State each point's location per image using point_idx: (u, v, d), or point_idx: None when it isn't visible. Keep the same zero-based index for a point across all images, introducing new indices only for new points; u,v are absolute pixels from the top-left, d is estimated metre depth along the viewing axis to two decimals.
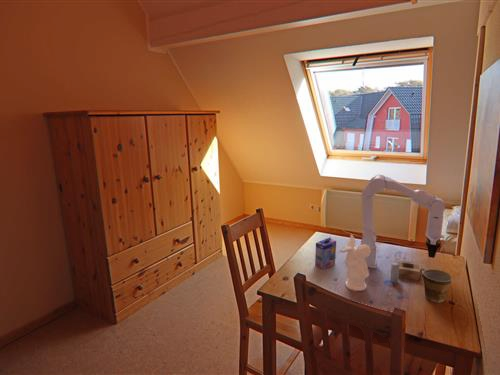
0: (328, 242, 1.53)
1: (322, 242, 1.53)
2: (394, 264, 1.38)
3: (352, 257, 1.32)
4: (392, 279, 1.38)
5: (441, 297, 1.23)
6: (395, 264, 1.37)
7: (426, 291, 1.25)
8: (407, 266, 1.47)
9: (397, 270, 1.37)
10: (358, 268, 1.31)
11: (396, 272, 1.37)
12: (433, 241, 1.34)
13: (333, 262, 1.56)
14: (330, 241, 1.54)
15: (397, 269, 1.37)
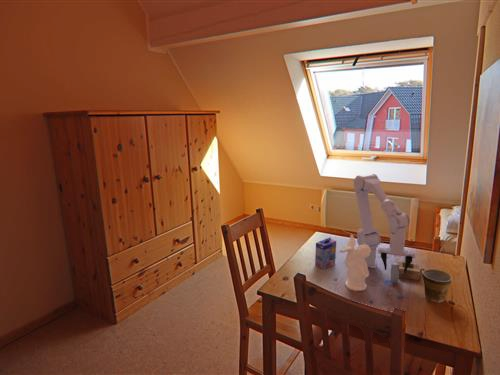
0: (328, 242, 1.53)
1: (322, 242, 1.53)
2: (394, 264, 1.38)
3: (352, 257, 1.32)
4: (392, 279, 1.38)
5: (441, 297, 1.23)
6: (395, 264, 1.37)
7: (426, 291, 1.25)
8: None
9: (397, 270, 1.37)
10: (358, 268, 1.31)
11: (396, 272, 1.37)
12: (378, 249, 1.39)
13: (333, 262, 1.56)
14: (330, 241, 1.54)
15: (397, 269, 1.37)
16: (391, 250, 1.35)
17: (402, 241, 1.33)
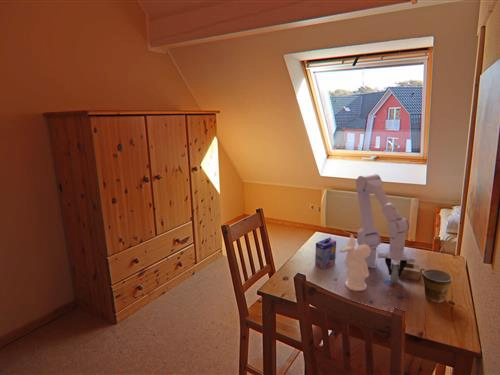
0: (328, 242, 1.53)
1: (322, 242, 1.53)
2: (394, 264, 1.38)
3: (352, 257, 1.32)
4: (392, 279, 1.38)
5: (441, 297, 1.23)
6: (395, 264, 1.37)
7: (426, 291, 1.25)
8: (407, 266, 1.47)
9: (397, 270, 1.37)
10: (358, 268, 1.31)
11: (396, 272, 1.37)
12: (378, 254, 1.40)
13: (333, 262, 1.56)
14: (330, 241, 1.54)
15: (397, 269, 1.37)
16: (391, 255, 1.36)
17: (402, 246, 1.33)
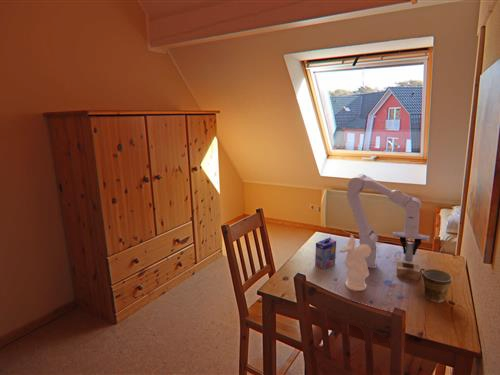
0: (328, 242, 1.53)
1: (322, 242, 1.53)
2: (408, 243, 1.42)
3: (352, 256, 1.32)
4: (406, 258, 1.43)
5: (441, 297, 1.23)
6: (409, 243, 1.41)
7: (426, 291, 1.25)
8: (407, 266, 1.47)
9: (411, 249, 1.41)
10: (358, 268, 1.31)
11: (410, 251, 1.41)
12: None
13: (333, 262, 1.56)
14: (330, 241, 1.54)
15: (411, 248, 1.41)
16: (405, 233, 1.40)
17: (418, 224, 1.38)
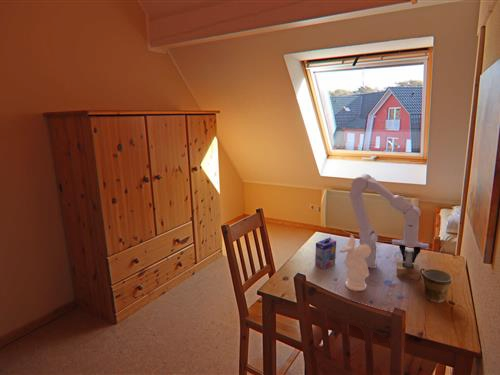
0: (328, 242, 1.53)
1: (322, 242, 1.53)
2: (408, 251, 1.43)
3: (352, 257, 1.32)
4: (406, 265, 1.43)
5: (441, 297, 1.23)
6: (408, 251, 1.42)
7: (426, 291, 1.25)
8: None
9: (411, 257, 1.42)
10: (358, 268, 1.31)
11: (410, 259, 1.42)
12: (392, 241, 1.45)
13: (333, 262, 1.56)
14: (330, 241, 1.54)
15: (411, 256, 1.42)
16: (405, 241, 1.41)
17: None
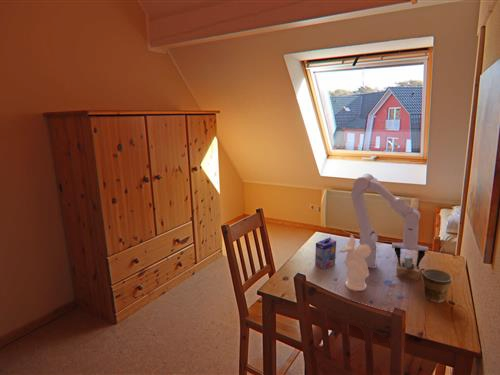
0: (328, 242, 1.53)
1: (322, 242, 1.53)
2: (407, 257, 1.43)
3: (352, 256, 1.32)
4: None
5: (441, 297, 1.23)
6: (408, 258, 1.43)
7: (426, 291, 1.25)
8: None
9: (410, 263, 1.42)
10: (358, 268, 1.31)
11: (409, 265, 1.43)
12: (392, 244, 1.45)
13: (333, 262, 1.56)
14: (330, 241, 1.54)
15: (410, 262, 1.42)
16: (405, 245, 1.41)
17: (417, 235, 1.39)
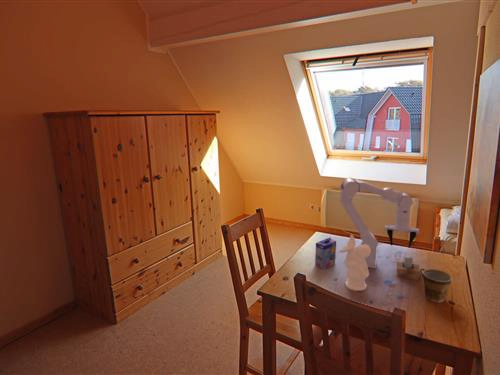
0: (328, 242, 1.53)
1: (322, 242, 1.53)
2: (407, 257, 1.43)
3: (352, 256, 1.32)
4: None
5: (441, 297, 1.23)
6: (408, 258, 1.43)
7: (426, 291, 1.25)
8: None
9: (410, 263, 1.42)
10: (358, 268, 1.31)
11: (409, 265, 1.43)
12: (385, 226, 1.53)
13: (333, 262, 1.56)
14: (330, 241, 1.54)
15: (410, 262, 1.42)
16: (397, 227, 1.48)
17: None
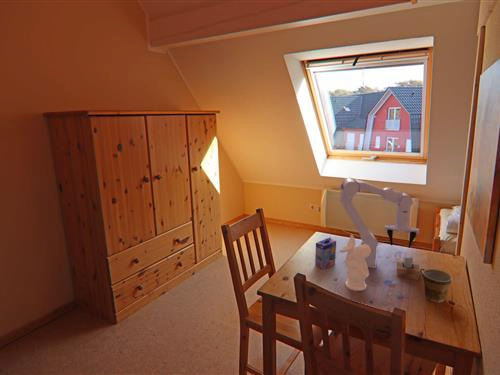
0: (328, 242, 1.53)
1: (322, 242, 1.53)
2: (407, 257, 1.43)
3: (352, 257, 1.32)
4: None
5: (441, 297, 1.23)
6: (408, 258, 1.43)
7: (426, 291, 1.25)
8: None
9: (410, 263, 1.42)
10: (358, 268, 1.31)
11: (409, 265, 1.43)
12: (385, 226, 1.53)
13: (333, 262, 1.56)
14: (330, 241, 1.54)
15: (410, 262, 1.42)
16: (397, 227, 1.48)
17: None
